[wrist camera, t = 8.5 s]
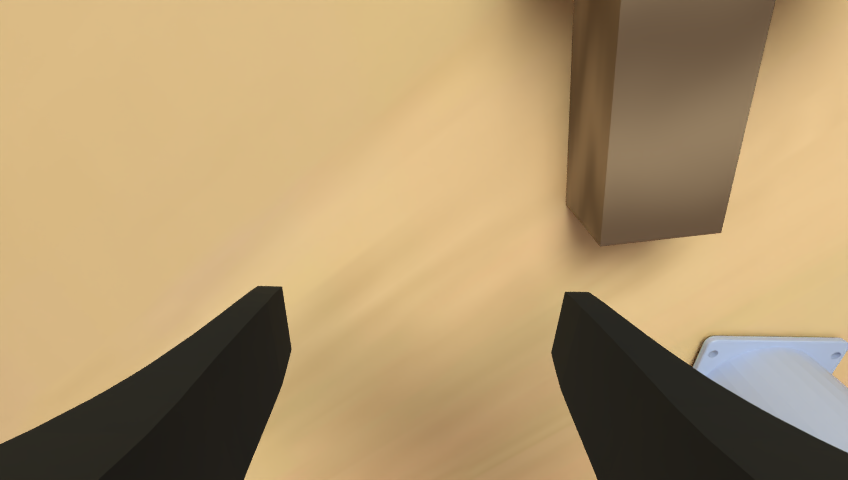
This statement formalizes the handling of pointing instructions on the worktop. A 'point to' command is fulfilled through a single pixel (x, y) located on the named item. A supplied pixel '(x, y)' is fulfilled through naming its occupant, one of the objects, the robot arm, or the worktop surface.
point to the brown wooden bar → (659, 113)
